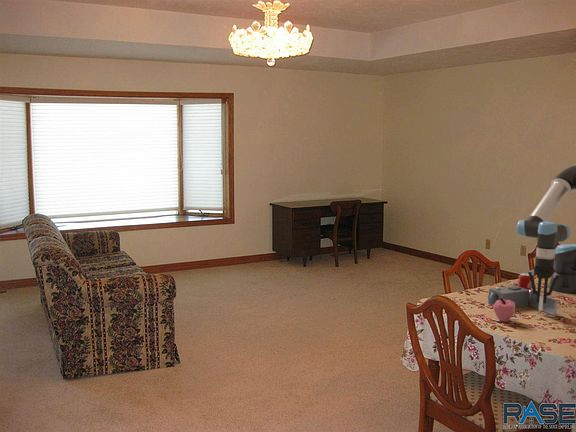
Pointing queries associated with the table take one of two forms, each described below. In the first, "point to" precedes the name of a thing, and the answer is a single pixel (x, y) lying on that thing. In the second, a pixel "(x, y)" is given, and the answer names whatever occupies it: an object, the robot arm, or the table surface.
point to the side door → (547, 307)
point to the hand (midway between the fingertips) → (540, 309)
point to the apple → (504, 309)
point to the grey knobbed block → (509, 295)
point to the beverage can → (524, 281)
